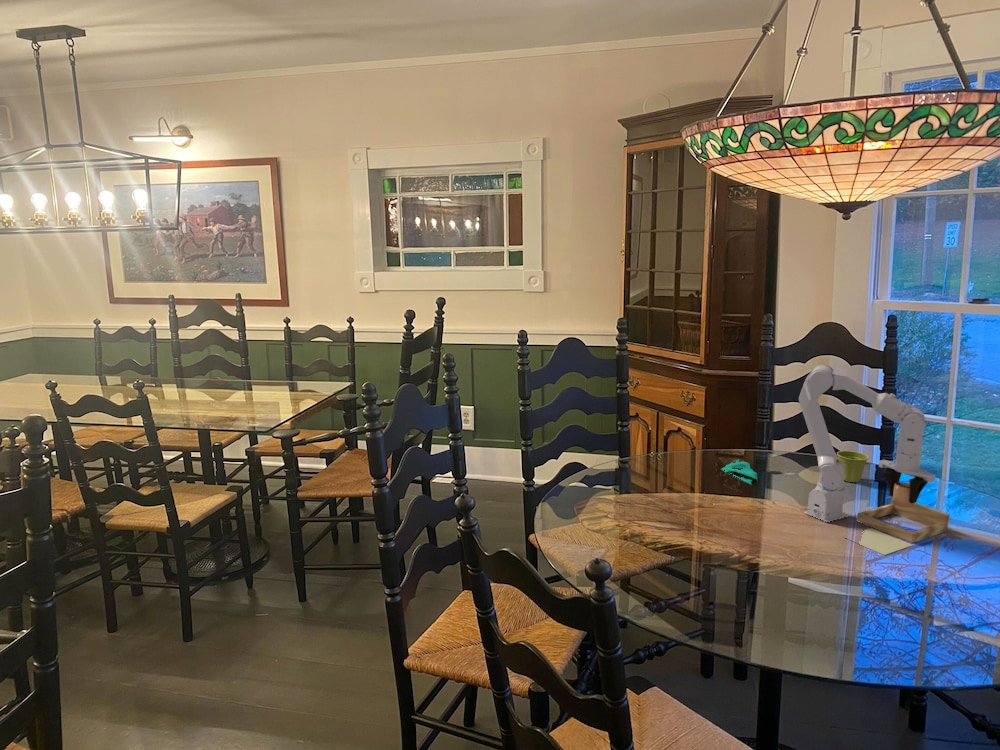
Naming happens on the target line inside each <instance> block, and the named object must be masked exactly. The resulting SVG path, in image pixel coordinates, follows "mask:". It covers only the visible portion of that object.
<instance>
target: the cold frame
mask: <svg viewBox="0 0 1000 750" xmlns="http://www.w3.org/2000/svg"><path fill="white" fill-rule="evenodd" d="M890 497H891V498H890V503H889V504H885V505H881V506H879V507H875V508H872V509H871V508H870V509H867V510H865V511H861V512H858V513H857V516H856V521H857V520H858V521H860V522H862V523H864V524H866V525H865V526H867V525H868V526H867V527H869V526H870V527H869V528H872V527H873V528H872V529H874V528H875V530H877V531H880V532H882V533H885V534H887V535H890V536H892V537H895V538H897V539H900V540H902V541H905V542H907V543H910V544H914V543H916V542H920V541H923V540H925V539H928V537H929V538H931V537H934V535H935V536H937V534H938V535H940V534H943V533H945V532H946V533H947V532H948V529H949V521H950V516H951V515H950V513H947V512H944V511H941V510H938V509H936V508H932V507H929V506H927V505H924V504H921V503H918V502H915V503H913V506H912V507H900V506H896V505H894V504H893V503H892V499H893V497H892V496H890ZM890 514H895V515H898V516H901V517H903V518H906V519H908V520H912V521H914V522H917V523H920V524H923V525H925V526H926V527H923V528H922V529H918V530H914V531H909V530H907V529H903V528H902V527H899V526H897V525H893V524H890V523H888V522H886V521H882V520H881V519H878V518H881V517H885V516H886V515H890ZM877 517H878V518H877ZM862 523H861V524H862ZM864 524H863V525H864Z"/></svg>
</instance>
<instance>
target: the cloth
mask: <svg viewBox="0 0 1000 750" xmlns="http://www.w3.org/2000/svg"><path fill="white" fill-rule="evenodd" d="M739 460H740V459H737V460H735V461H736V463H733V462H734V461H733V462H731V463H729V464H726V465H725V466H724V467H722V468H721V469H720V470H721V471H723V472H724V473H726V472H734V473H735V474H737V473H739V475H740V476H743V477H741V478H740V477H738V476H736V475H734V474H733V476H732V477H734V476H735V477H734V478H736V477H737V478H736V479H738V478H739V479H738V480H740V479H741V480H740V481H742V482H744V483H746V484H749V485H751V486H753V484H752V482H753V480H756V481H757V482H758V481H759V480H758V473H757V472H755V471H754V470H753V469H752V468H751V464H750V463H749V462H746V461H741V462H739ZM734 467H735V468H743V469H741V470H738V469H732V468H734ZM724 470H725V471H724ZM730 474H732V473H730ZM730 474H729V475H730ZM744 477H746V478H748V479H746V478H744Z"/></svg>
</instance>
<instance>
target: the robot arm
mask: <svg viewBox="0 0 1000 750" xmlns="http://www.w3.org/2000/svg"><path fill="white" fill-rule="evenodd" d="M831 387H833V388H832V391H840V390H843V391H844V390H845V391H847V392H849V393H850V394H852V395H854V396H856V397H858V398H860V399H862V400H864V401H865V402H867V403H870V404H871V406H872V410H873V411H874V412H876V413H878V414H880V415H881V416H883V417H884V418H887V419H889V420H890V421H892V422H894V423H898V424H900V431H899V434H898V437H897V438H898V439H897V446H896V454H895V461H892V460H886V459H882V460H879V462H878V463H879V464H878V467H879V468H882V469H885V470H884V471H883V472H882V473H883V476H884V478H885V480H886V483H887V485H888V486H887V487H888V491H889V497H891V496H892V497H893V490H894V483H896V482H900V481H901V476H902V474H904V475H907V476H910V477H913V478H910V479H909V480H908V483H909V484H910V498H909V502H910V503H917V501H918V498H919V496H920V495H921V492H922V491H923V489H924V488H925V487H926V486H927V484H929V483H930V484H931V483H935V481H936V476H937V475H936V474H934V473H931V472H929V471H927V470H924V469H923V468H920V464H921V463H920V462H921V458H922V457H921V455H922V447H923V441H924V439H923V438H924V437H923V435H924V430H925V429H926V426H927V424H926V418H925V417H926V416H925V414H924V412H923V411H921V409H919V408H918V407H917V406H916V407H915V406H913V405H912V404H910V403H908V404H907V403H905V401H904V402H903V401H901V400H900V399H898V398H897V395H895V394H894V393H888V392H883V393H878V392H876V391H874V390H873V389H871V388H870V387H868V386H867V385H865V384H863V383H861V382H859V381H858V380H857V379H855V378H853V377H852V376H850V375H848V374H846V373H845V372H843V371H841V370H840V369H837V368H833V367H832V366H831V365H829V364H825V363H822V364H821V363H820V364H817V365H816V366H814V367H813V368H812V369H811V370H810V372H809V373H808V374H807V376H806V378H805V380H804V383H803V385H802V388H801V390H800V394H799V396H798V403H799V405H800V408H801V411H802V415H803V418H804V420H805V425H806V426H807V429H808V433H809V435H810V439H811V442H812V446H813V448H814V450H815V454H816V457H817V464H818V465H817V466H818V468H819V475H818V481H817V484H816V487H815V488H813V489H812V490H811V491H810V492H809V493H808V499H807V500H808V501H807V509H806V510H805V511H804V514H805V515H808V516H811V517H812V516H813V518H815V517H816V518H815V519H817V518H818V520H820V519H821V520H820V521H822V520H824V521H823V522H825V521H826V522H825V523H827V522H829V523H831V522H830V521H832V522H834V521H833V520H836V521H838V520H837V519H839V520H841V519H840V518H842V519H845V518H844V517H846V518H848V516H849V517H850V515H849V514H847V513H844V512H843V511H844V499H845V491H846V490H845V489H846V485H845V484H844V481H845V480H844V474H845V467H844V465H843V464H842V463H841V462H840V461H839V459H838V455H837V452H836V451H835V449H834V447H833V443H832V440H831V437H830V433H829V431H828V428H827V425H826V421H825V419H824V415H823V413H822V412H823V411H822V410H821V407H820V406H821V405H820V404H819V401H818V400H819V399H820V398H821V396H822V394H824V393H825V392H827V391H828V390H829V389H831Z"/></svg>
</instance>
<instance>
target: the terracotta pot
mask: <svg viewBox="0 0 1000 750" xmlns="http://www.w3.org/2000/svg"><path fill="white" fill-rule="evenodd" d="M909 498H910V482H904V481H899V482H896V483H894V490H893V499H892V503H893V504H894V505H896V506H900V507H912V506H913V503H910V502H909Z"/></svg>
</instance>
